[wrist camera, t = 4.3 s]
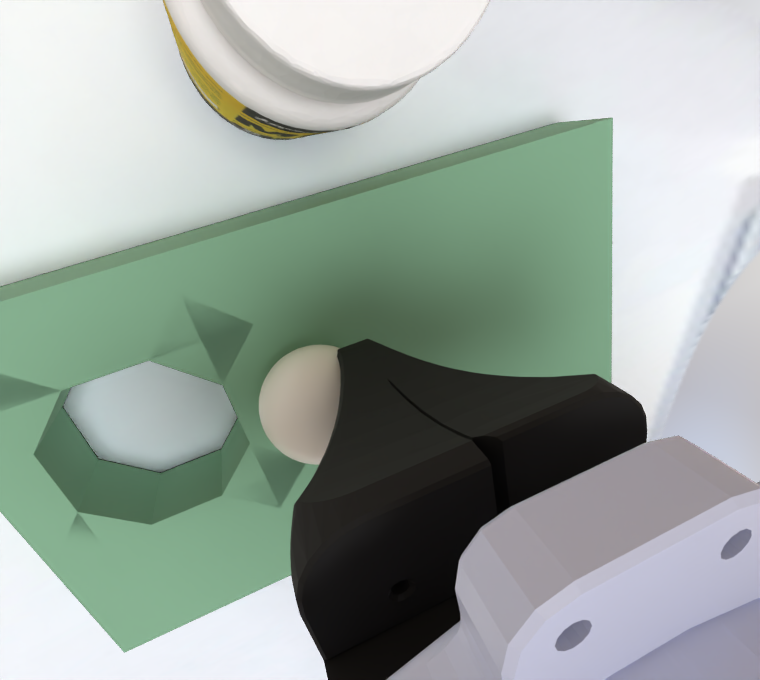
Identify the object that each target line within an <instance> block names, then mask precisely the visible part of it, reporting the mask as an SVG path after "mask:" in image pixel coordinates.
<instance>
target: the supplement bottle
mask: <svg viewBox="0 0 760 680" xmlns="http://www.w3.org/2000/svg"><path fill="white" fill-rule="evenodd" d="M163 2H164V6H165V9H166V12H167V14H168V18H169V21H170V24H171V27H172V30H173V34H174V37H175V40H176V43H177V46H178V49H179V53H180V56H181V58H182V61H183V64H184V66H185V69H186V71H187V73H188V75H189V77H190V79H191V80H192V82H193V84H194V86H195V87H196V89H197V90H198V92H199V93H200V95H201V96H202V98H203V99H204V100H205V101H206V103H207V104H208V105H209V106H210V107H211V108H212V109H213V110H214V111H216V112H217V113H218V114H219V115H220V116H221V117H222V118H224V119H225V120H227V121H228V122H229V123H231V124H232V125H234V126H236V127H237V128H239V129H241V130H243V131H245V132H247V133H250V134H253V135H256V136H259V137H263V138H268V139H277V140H289V139H295V138H301V137H305V136H310V135H315V134H321V133H326V132H333V131H338V130H343V129H348V128H351V127H354V126H357V125H360V124H363V123H365V122H368V121H370V120H372V119H374V118H375V117H377V116H379V115H380V114H382V113H384V112H385V111H387V110H388V109H390V108H391V107H393V106H394V105H395V104H396V103H398V102H399V101H400V100H401V99H402V98H403V97H404V96H405V95H406V94H407V93H408V92H409V91H410V90H411V89H412V88H413V87H414V85H415V84H416V83H417V82H418V80H419V79H420V78H421V77H423V76H425V75H427V74H428V73H430V72H431V71H433V70H434V69H436V68H437V67H438V66H440V65H441V64H442V63H443V62H445V61H446V60H447V59H448V58H450V57H451V56H452V55H453V54H454V53H455V52H456V51H457V50H458V49H459V48H460V47H461V45H462V44H463V43H464V42H465V41H466V40H467V38H468V37H469V36H470V34H471V33H472V31H473V30H474V28H475V27H476V25H477V24H478V22H479V21H480V19H481V17H482V16H483V14H484V12H485V10H486V8H487V6H488V4H489V2H490V0H163Z"/></svg>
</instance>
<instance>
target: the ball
mask: <svg viewBox="0 0 760 680" xmlns="http://www.w3.org/2000/svg"><path fill="white" fill-rule="evenodd" d="M338 349H340V348H338V347H335V346H330V345H309V346H305V347H301V348H298V349H296V350H294V351H292V352H290V353H288V354H287V355H285V356H284V357H282V358H281V359H280V360H279V361H278V362H277V363H276V364H275V365H274V366H273V367H272V368H271V370H270V371H269V373H268V374H267V376H266V378H265V380H264V382H263V384H262V387H261V391H260V395H259V415H260V420H261V424H262V427H263V429H264V431H265V433H266V435H267V437H268V438H269V440H270V441H271V442H272V444H273V445H274V446H275V447H276V448H277V449H278V450H279V451H281V452H282V453H283V454H284V455H286V456H288V457H290V458H291V459H293V460H296V461H299V462H302V463H306V464H314V465H319V464H320V462H321V460H322V458H323V456H324V454H325V451H326V449H327V446H328V444H329V441H330V438H331V435H332V432H333V429H334V425H335V421H336V417H337V412H338V406H339V398H340V387H341V378H340V365H339V361H338V358H337V353H338Z"/></svg>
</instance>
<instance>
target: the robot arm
mask: <svg viewBox="0 0 760 680" xmlns="http://www.w3.org/2000/svg"><path fill="white" fill-rule="evenodd" d="M337 358H338V361H339V365H340V378H341V387H340V398H339V406H338V412H337V417H336V421H335V425H334V429H333V432H332V435H331V438H330V441H329V444H328V446H327V449H326V451H325V454H324V456H323V458H322V460H321V462H320V464H319V466H318V468H317V470H316V472H315V474H314V476H313V477H312V479H311V481H310V482H309V484H308V485H307V487H306V488H305V490H304V491H303V493H302V494H301V496H300V497H299V498H298V500H297V501H296V502H295V504H294V507H293V516H292V525H291V540H290V560H291V576H292V582H293V587H294V592H295V597H296V601H297V605H298V608H299V612H300V615H301V617H302V619H303V621H304V623H305V625H306V627H307V629H308V631H309V633H310V635H311V636H312V638H313V640H314V642H315V644H316V646H317V648H318V650H319V652H320V654H321V656H322V658H323V660H324V663H325V668H326V672H327V677H328V680H760V482H758V483H755V482H754V481H752V480H751V479H749V478H747V477H746V476H744V475H743V474H741V473H739V472H738V471H736V470H735V469H733V468H731V467H730V466H728V465H727V464H725V463H724V462H722V461H720V460H719V459H717V458H716V457H714V456H712V455H711V454H709V453H708V452H706V451H704V450H703V449H701V448H700V447H698V446H696V445H695V444H693V443H691V442H689V441H688V440H686V439H684V438H682V437H680V436H673V437H668V438H664V439H660V440H655V441H651V442H647V443H646V439H647V424H646V415H645V412H644V410H643V407H642V405H641V404H640V403H639V402H638V401H637V400H636V399H635V398H634V397H633V396H631V395H630V394H628V393H626V392H625V391H623V390H621V389H620V388H618V387H616V386H615V385H613V384H612V383H610V382H608V381H607V380H605V379H603V378H602V377H600V376H598V375H596V374H586V375H571V376H557V377H516V376H500V375H490V374H481V373H474V372H468V371H463V370H458V369H453V368H448V367H444V366H440V365H437V364H434V363H430V362H427V361H423V360H420V359H418V358H415V357H412V356H409V355H406V354H404V353H401V352H399V351H396V350H394V349H391V348H389V347H387V346H384V345H382V344H380V343H377V342H375V341H373V340H370V339H365V340H362V341H359V342H357V343H354V344H351V345H348V346H345V347H343V348H340V349H338V353H337Z"/></svg>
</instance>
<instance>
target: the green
mask: <svg viewBox="0 0 760 680" xmlns="http://www.w3.org/2000/svg"><path fill="white" fill-rule="evenodd" d="M612 142H613V118H603V119H592V120H581V121H570V122H559V123H555V124H551V125H548V126H544V127H541V128H538V129H534V130H531V131H527V132H524V133H521V134H517V135H514V136H510V137H507V138H504V139H500V140H497V141H493V142H490V143H487V144H483V145H480V146H477V147H473V148H470V149H466V150H463V151H460V152H456V153H453V154H449V155H446V156H443V157H439V158H436V159H432V160H429V161H426V162H422V163H419V164H415V165H412V166H409V167H405V168H402V169H398V170H395V171H392V172H388V173H385V174H381V175H378V176H375V177H371V178H368V179H365V180H361V181H358V182H354V183H351V184H348V185H344V186H341V187H337V188H334V189H331V190H327V191H324V192H320V193H317V194H314V195H310V196H307V197H303V198H300V199H297V200H293V201H290V202H286V203H283V204H280V205H276V206H273V207H269V208H266V209H263V210H259V211H256V212H252V213H249V214H246V215H242V216H239V217H236V218H232V219H229V220H225V221H222V222H219V223H215V224H212V225H208V226H205V227H202V228H198V229H195V230H191V231H188V232H185V233H181V234H178V235H174V236H171V237H168V238H164V239H161V240H157V241H154V242H151V243H147V244H144V245H140V246H137V247H134V248H130V249H127V250H123V251H120V252H117V253H113V254H110V255H107V256H103V257H100V258H96V259H93V260H90V261H86V262H83V263H79V264H76V265H73V266H69V267H66V268H62V269H59V270H56V271H52V272H49V273H45V274H42V275H39V276H35V277H32V278H28V279H25V280H22V281H18V282H15V283H11V284H8V285H5V286H1V287H0V512H1V513H2V514H3V515H4V516H5V518H6V519H7V520H8V521H9V522H10V523H11V524H12V526H13V527H14V528H15V529H16V530H17V531H18V532H19V533H20V535H21V536H22V537H23V538H24V539H25V540H26V541H27V543H28V544H29V545H30V546H31V547H32V548H33V549H34V551H35V552H36V553H37V554H38V555H39V556H40V557H41V558H42V560H43V561H44V562H45V563H46V564H47V565H48V566H49V568H50V569H51V570H52V571H53V572H54V573H55V574H56V575H57V577H58V578H59V579H60V580H61V581H62V582H63V583H64V585H65V586H66V587H67V588H68V589H69V590H70V591H71V593H72V594H73V595H74V596H75V597H76V598H77V599H78V600H79V602H80V603H81V604H82V605H83V606H84V607H85V608H86V610H87V611H88V612H89V613H90V614H91V615H92V616H93V618H94V619H95V620H96V621H97V622H98V623H99V624H100V625H101V627H102V628H103V629H104V630H105V631H106V632H107V633H108V635H109V636H110V637H111V638H112V639H113V640H114V641H115V643H116V644H117V645H118V646H119V647H120V648H121V649H122V650H123V652H124V653H125V652H127V651H129V650H131V649H133V648H135V647H138V646H140V645H142V644H144V643H146V642H148V641H150V640H153V639H155V638H157V637H159V636H161V635H163V634H165V633H168V632H170V631H172V630H174V629H176V628H178V627H181V626H183V625H185V624H187V623H189V622H191V621H193V620H196V619H198V618H200V617H202V616H204V615H206V614H208V613H211V612H213V611H215V610H217V609H219V608H221V607H223V606H226V605H228V604H230V603H232V602H234V601H236V600H239V599H241V598H243V597H245V596H247V595H249V594H251V593H254V592H256V591H258V590H260V589H262V588H264V587H266V586H269V585H271V584H273V583H275V582H277V581H279V580H281V579H284V578H286V577H288V576H290V575H291V560H290V540H291V525H292V516H293V507H294V504H295V502H296V501H297V500H298V498H299V497H300V496H301V494H302V493H303V491H304V490H305V488H306V487H307V485H308V484H309V482H310V481H311V479H312V477H313V476H314V474H315V472H316V470H317V468H318V466H319V465H314V464H306V463H302V462H299V461H296V460H293V459H291V458H290V457H288V456H286V455H284V454H283V453H282V452H281V451H279V450H278V449H277V448H276V447H275V446H274V445H273V444H272V442H271V441H270V440H269V438H268V437H267V435H266V433H265V431H264V429H263V427H262V424H261V420H260V415H259V395H260V391H261V387H262V384H263V382H264V380H265V378H266V376H267V374H268V373H269V371H270V370H271V368H272V367H273V366H274V365H275V364H276V363H277V362H278V361H279V360H280V359H281V358H282V357H284V356H285V355H287V354H288V353H290V352H292V351H294V350H296V349H298V348H301V347H305V346H309V345H330V346H335V347H338V348H343V347H345V346H348V345H351V344H354V343H357V342H359V341H362V340H365V339H370V340H373V341H375V342H377V343H380V344H382V345H384V346H387V347H389V348H391V349H394V350H396V351H399V352H401V353H404V354H406V355H409V356H412V357H415V358H418V359H420V360H423V361H427V362H430V363H434V364H437V365H440V366H444V367H448V368H453V369H458V370H463V371H468V372H474V373H481V374H490V375H500V376H516V377H557V376H571V375H586V374H596V375H598V376H600V377H602V378H603V379H605V380H607V381H608V382H610V383H611V348H612ZM146 361H151V362H154V363H157V364H160V365H163V366H166V367H169V368H172V369H175V370H178V371H181V372H184V373H188V374H191V375H194V376H197V377H200V378H203V379H206V380H209V381H212V382H215V383H218V384H221V385H223V387H224V389H225V392H226V394H227V396H228V398H229V400H230V402H231V404H232V406H233V409H234V411H235V413H236V415H237V417H238V418H237V420H236V422H235V424H234V426H233V428H232V430H231V432H230V434H229V435H228V437H227V439H226V441H225V443H224V445H223V447H222V449H220V450H218V451H215V452H213V453H210V454H208V455H205V456H203V457H200V458H198V459H195V460H193V461H190V462H187V463H185V464H182V465H180V466H177V467H175V468H172V469H170V470H167V471H165V472H162V473H158V472H153V471H149V470H144V469H140V468H135V467H131V466H127V465H122V464H118V463H113V462H109V461H104V460H100V459H98V458H97V457H96V455H95V454H94V452H93V451H92V449H91V448H90V446H89V445H88V444H87V442H86V441H85V439H84V438H83V436H82V435H81V433H80V432H79V430H78V429H77V427H76V426H75V425H74V423H73V422H72V420H71V419H70V417H69V416H68V414H67V413H66V411H65V410H64V409H63V404H64V402H65V400H66V398H67V395H68V393H69V391H70V388H71V387H73V386H76V385H79V384H82V383H85V382H88V381H91V380H94V379H96V378H99V377H102V376H105V375H108V374H111V373H114V372H117V371H120V370H123V369H125V368H128V367H131V366H134V365H137V364H140V363H143V362H146Z"/></svg>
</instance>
